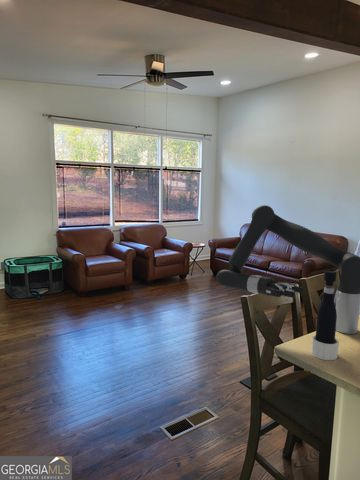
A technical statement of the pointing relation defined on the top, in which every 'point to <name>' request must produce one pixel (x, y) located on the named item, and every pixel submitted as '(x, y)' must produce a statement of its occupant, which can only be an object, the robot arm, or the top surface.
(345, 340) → the top surface
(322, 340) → the black insulated water bottle
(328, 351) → the ceramic cup
